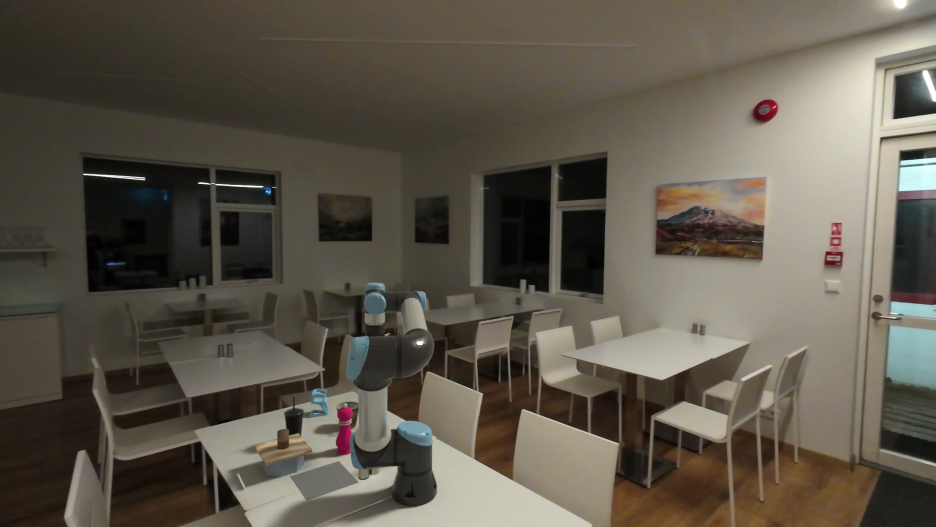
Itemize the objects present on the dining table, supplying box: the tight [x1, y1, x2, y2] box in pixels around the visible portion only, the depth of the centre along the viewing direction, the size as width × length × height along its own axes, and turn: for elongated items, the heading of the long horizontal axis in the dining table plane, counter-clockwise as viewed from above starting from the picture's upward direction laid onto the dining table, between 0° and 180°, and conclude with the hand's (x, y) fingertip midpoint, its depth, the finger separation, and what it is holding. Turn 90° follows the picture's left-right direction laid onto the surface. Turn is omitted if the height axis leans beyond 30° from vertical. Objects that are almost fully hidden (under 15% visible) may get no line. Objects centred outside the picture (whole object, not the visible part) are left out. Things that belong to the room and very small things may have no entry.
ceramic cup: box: [336, 400, 359, 430], centre depth 200 cm, size 13×10×10 cm
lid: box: [254, 428, 313, 466], centre depth 166 cm, size 16×16×7 cm
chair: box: [308, 388, 330, 418], centre depth 215 cm, size 8×8×12 cm
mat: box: [289, 460, 359, 501], centre depth 159 cm, size 18×18×1 cm
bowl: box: [262, 455, 305, 478], centre depth 166 cm, size 13×13×7 cm
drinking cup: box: [283, 396, 305, 437], centre depth 185 cm, size 8×8×20 cm
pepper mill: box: [335, 403, 353, 456], centre depth 178 cm, size 7×7×20 cm
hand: (374, 377), depth 174 cm, fingers open, 13 cm apart
